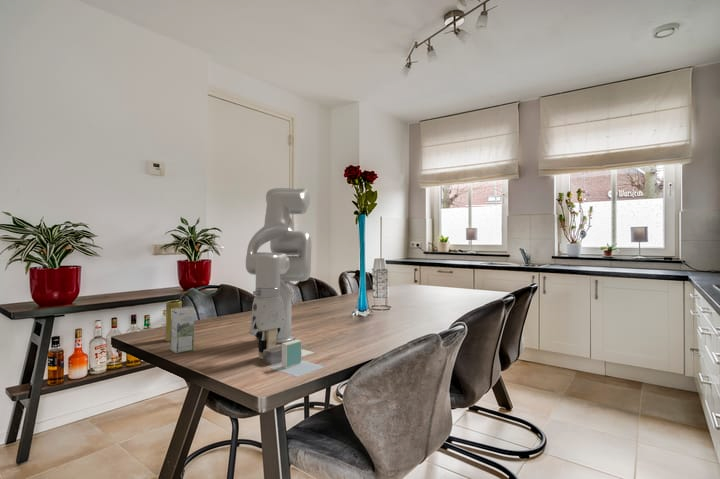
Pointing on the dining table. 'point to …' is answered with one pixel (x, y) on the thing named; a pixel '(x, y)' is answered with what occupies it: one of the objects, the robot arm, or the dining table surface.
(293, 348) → the tile
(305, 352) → the coaster
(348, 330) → the dining table surface
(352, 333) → the dining table surface
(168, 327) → the vase
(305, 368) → the mat
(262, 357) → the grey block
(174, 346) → the syrup box
